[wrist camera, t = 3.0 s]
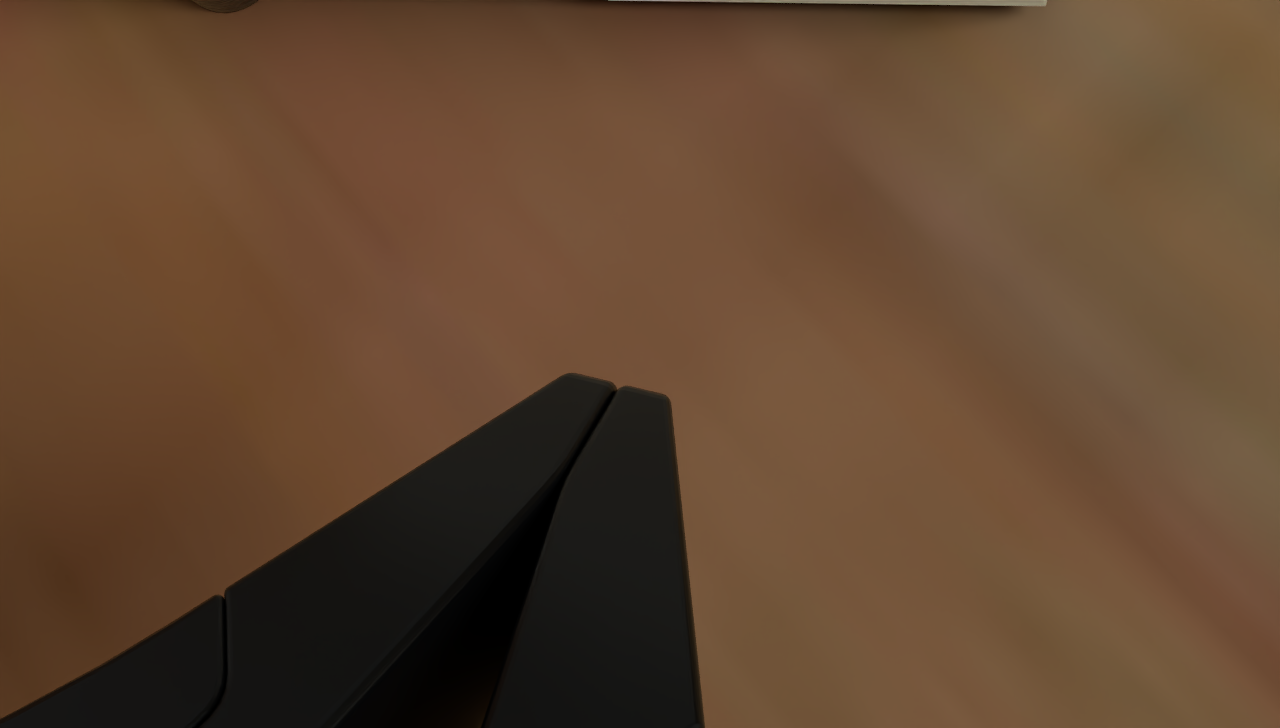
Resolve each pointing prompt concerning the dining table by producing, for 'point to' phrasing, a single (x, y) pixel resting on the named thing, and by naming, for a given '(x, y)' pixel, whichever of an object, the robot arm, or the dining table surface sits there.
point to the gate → (889, 2)
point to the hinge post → (225, 5)
